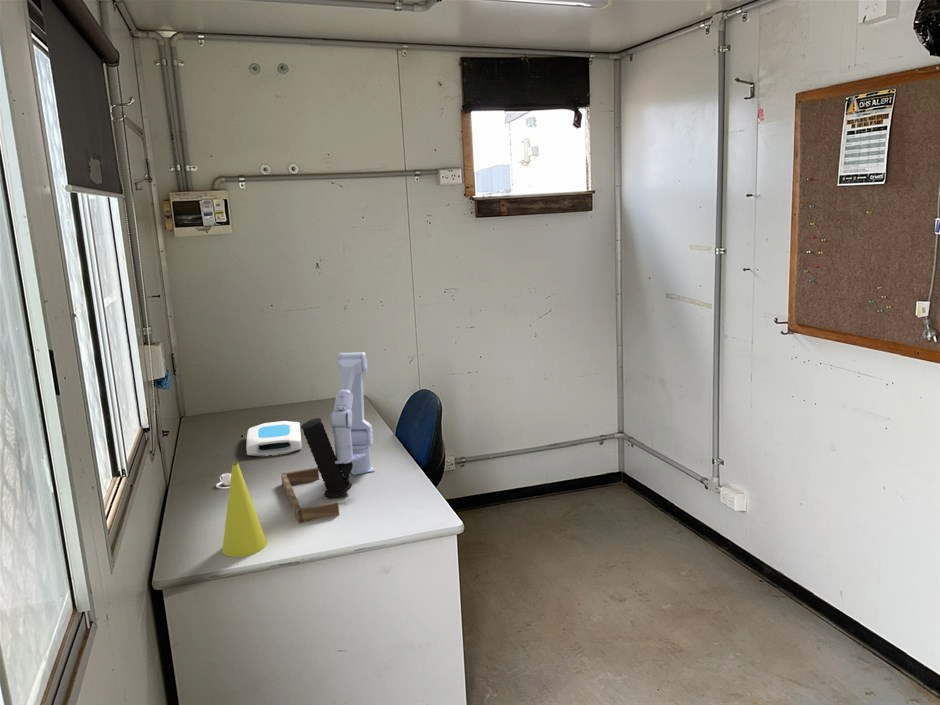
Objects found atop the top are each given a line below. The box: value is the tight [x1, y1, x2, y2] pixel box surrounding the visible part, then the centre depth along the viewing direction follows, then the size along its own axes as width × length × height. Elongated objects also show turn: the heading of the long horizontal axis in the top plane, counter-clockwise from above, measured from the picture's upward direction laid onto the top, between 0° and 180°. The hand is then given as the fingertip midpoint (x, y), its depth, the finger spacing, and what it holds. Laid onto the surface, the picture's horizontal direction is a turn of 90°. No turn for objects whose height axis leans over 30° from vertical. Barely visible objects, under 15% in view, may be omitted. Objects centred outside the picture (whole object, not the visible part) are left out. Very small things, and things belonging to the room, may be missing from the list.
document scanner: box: [245, 420, 303, 457], centre depth 297 cm, size 21×28×6 cm
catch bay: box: [280, 466, 340, 524], centre depth 238 cm, size 36×13×4 cm, turn 22°
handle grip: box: [300, 417, 353, 499], centre depth 238 cm, size 10×26×10 cm
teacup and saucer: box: [215, 472, 231, 489], centre depth 254 cm, size 9×8×4 cm
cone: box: [221, 461, 268, 558], centre depth 203 cm, size 12×12×25 cm
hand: (346, 484), depth 242 cm, fingers closed, pressing on handle grip
